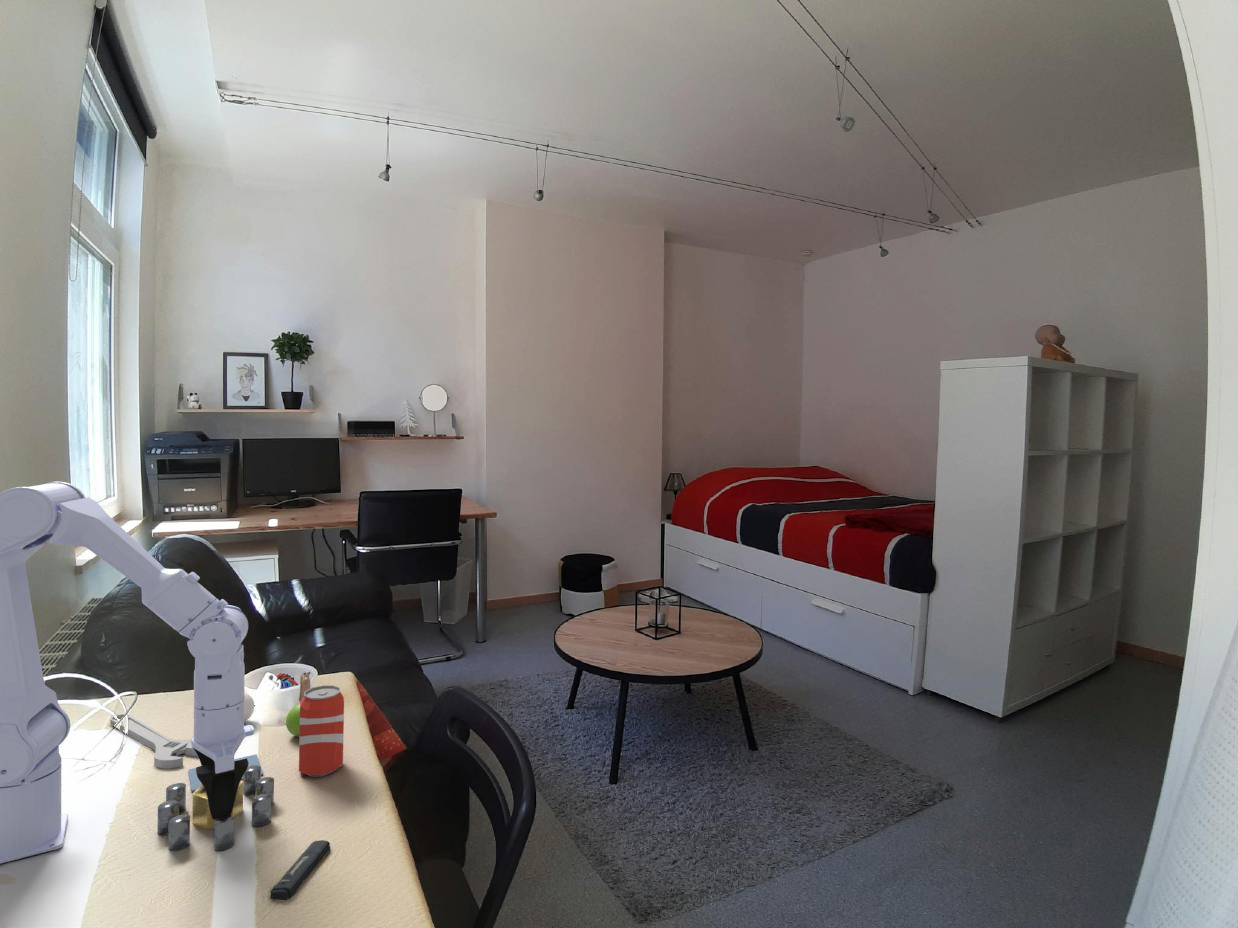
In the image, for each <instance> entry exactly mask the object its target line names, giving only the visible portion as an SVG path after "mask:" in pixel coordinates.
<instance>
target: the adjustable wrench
mask: <svg viewBox="0 0 1238 928" xmlns="http://www.w3.org/2000/svg"><path fill="white" fill-rule="evenodd" d="M124 714H125V713H120V714H117V715H115V716H117V718H118V719H121V718H122V717H123V716H124ZM128 720H129V730H128V735H127V736H128V737H130V738H132V739H133V740H136V741H137V742H139V743H141V744H143V745H144V746H146V747H148V748H149V749H150V750H152V751H154V755H153V757H154V758H153V765H154V766H155V767H156V768H159V769H175V768H180V767H183V766H184V757H182V756H180V755H182V754H184V756H189V757H198V755H197V753H196V752H195V750H194V749H193V747H192V743H191V742H192V738H191V739H190V738H188V739H173V738H170V737H168V736H166V735H165V734H163V733H161V732H160V731H157V730H155V729H154V728H152V727H151V726H149V725H147V724H146V723H144V722H142V721H140V720H139V719H137V718H135V717H133V716H132V715H130V714H129V718H128ZM109 721H110V722H109V723H110V726H111V727H113V726H114V725H115V724H116V723H117V722H118V720H117V719H115V718H114V717H113V716H112V717H110V720H109ZM123 730H124V724H121V726H120V730H119V731H120V732H121V733H123ZM198 758H199V757H198Z"/></svg>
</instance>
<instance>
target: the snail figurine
mask: <svg viewBox="0 0 1238 928" xmlns="http://www.w3.org/2000/svg"><path fill="white" fill-rule="evenodd" d="M311 673H312V672H311V671H308V670H307V672H306V671H304V672H302V674H301V675H300V679H299V680H300V681H299V683H300V685H299V687H300V689H299V698H298V701H299V703H298V704H296V705H294V706H293V707H292V708H291V709H290V710H289V712H288V713H287V715H286V719H285V727H286V729H287V731H288V732H289V733H290V734H291V735H293V736H295V737H299V735H300V702H301V700H302V699H303V697H304V692H305V691H307V690H309V689H310V688H311V679H310V675H311Z"/></svg>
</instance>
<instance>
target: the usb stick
mask: <svg viewBox="0 0 1238 928" xmlns="http://www.w3.org/2000/svg"><path fill="white" fill-rule="evenodd" d="M330 850H331V842H330V841H328V840H322V839H321V840H314V841H312V842H311V844H309V845H308V847H307V848H306V849H305V850H304V851H303V853H302V854H301V855H300V856H299V857H298V858H297V860H296V861H295V862H294V863H293V864H292V865H291V866H290V868H289V869H288V870H287V871H286V872H285V873H284V875H283V876H282V877H281V878H280V879H279V880H278V882H277V883H276V884H274V886H273V887H272V888H271V889H270V892H269V893H270V894H269V895H270V896H269V898H270V899H271V900H272V901H273V900H274V901H287V900H288V899H291V898H292V896H294V894H295V893H297V891H298V889H300V888H301V885H302V884H304V882H305V881H306V880H307V879H308V877H309V876H310V875H311V874H312V873H313V871H314V870H315V869H316V867H317V866H318V865H319V864H320V863H321V862H322V860H323V859H324V857H325V856H326V855H327V854H328V853H329V852H330Z"/></svg>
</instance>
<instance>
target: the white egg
mask: <svg viewBox="0 0 1238 928" xmlns="http://www.w3.org/2000/svg"><path fill="white" fill-rule="evenodd" d="M254 704H255V700H254V698H253V697H252V696H251V695H250V694H249V693H248V692H245V691H244V723H246V722H247V721H248V720H249V719H250V718H251V717H252V716H253V714H254V710H255V707H256V704H255V705H254Z"/></svg>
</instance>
